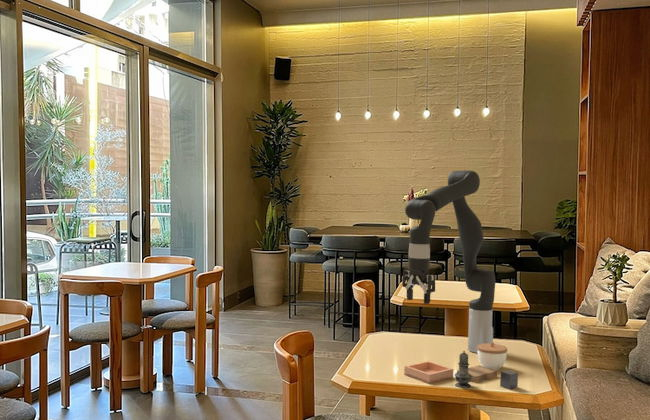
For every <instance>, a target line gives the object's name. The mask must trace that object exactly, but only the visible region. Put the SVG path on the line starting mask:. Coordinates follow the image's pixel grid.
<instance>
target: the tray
mask: <svg viewBox="0 0 650 420" xmlns="http://www.w3.org/2000/svg"><path fill="white" fill-rule="evenodd" d="M403 374H404V376H408V377H410V378H412V379H413V378H414V379H416V380H418V381H421V382H424V383H426V384H433V383H436V382H440V381H444V380H448V379H452V378H454V368H452V367H448V366H445V365H442V364H439V363H436V362H433V361H430V360H427V361H425V360H424V361H421V362H418V363H413V364H408V365H405V366H404V372H403Z"/></svg>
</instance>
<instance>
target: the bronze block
mask: <svg viewBox="0 0 650 420" xmlns="http://www.w3.org/2000/svg"><path fill="white" fill-rule="evenodd" d="M458 371H459V369H458V370H457V371H456V373H458ZM468 372H469V374H471V375H472V377H471V381H470V382H472V383H478V382H482V381H485V380H490V379H493V378H496V377H498V370H493V369H490V368H487V367H483V366H482V365H481V364H480V365H474V366H471V367H468Z"/></svg>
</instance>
